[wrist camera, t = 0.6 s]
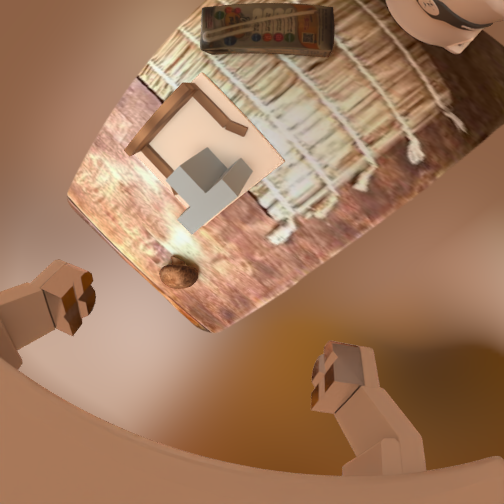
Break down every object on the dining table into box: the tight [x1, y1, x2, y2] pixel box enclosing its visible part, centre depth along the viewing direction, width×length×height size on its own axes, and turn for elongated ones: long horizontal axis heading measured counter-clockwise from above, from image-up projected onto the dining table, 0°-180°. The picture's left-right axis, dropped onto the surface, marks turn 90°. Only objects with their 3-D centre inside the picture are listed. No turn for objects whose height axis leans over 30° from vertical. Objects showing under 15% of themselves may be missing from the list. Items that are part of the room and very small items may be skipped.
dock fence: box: [124, 83, 248, 195], centre depth 43 cm, size 18×12×5 cm
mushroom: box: [159, 257, 198, 289], centre depth 58 cm, size 8×8×6 cm
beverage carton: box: [200, 3, 334, 57], centre depth 32 cm, size 8×19×6 cm, turn 89°
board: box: [135, 73, 285, 226], centre depth 46 cm, size 19×20×1 cm
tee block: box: [166, 147, 253, 234], centre depth 42 cm, size 9×8×12 cm
